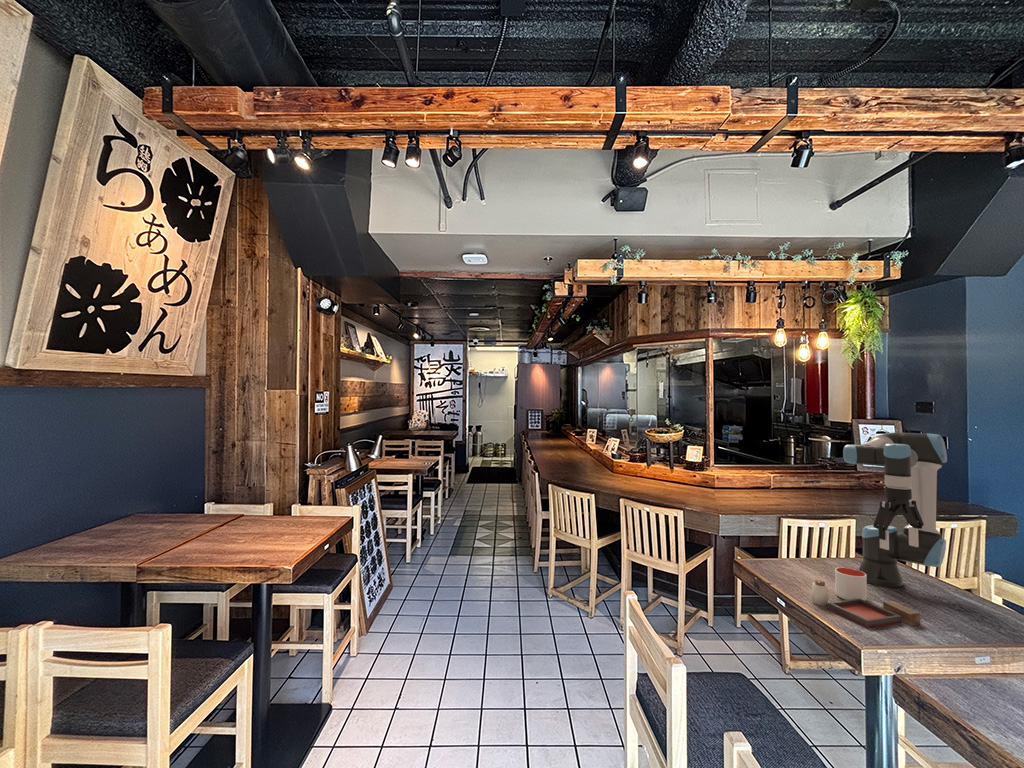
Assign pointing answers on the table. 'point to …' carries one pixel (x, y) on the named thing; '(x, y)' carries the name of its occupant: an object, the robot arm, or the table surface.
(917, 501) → the robot arm
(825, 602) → the ceramic jar
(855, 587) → the cup
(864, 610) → the tray
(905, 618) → the box
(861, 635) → the table surface
